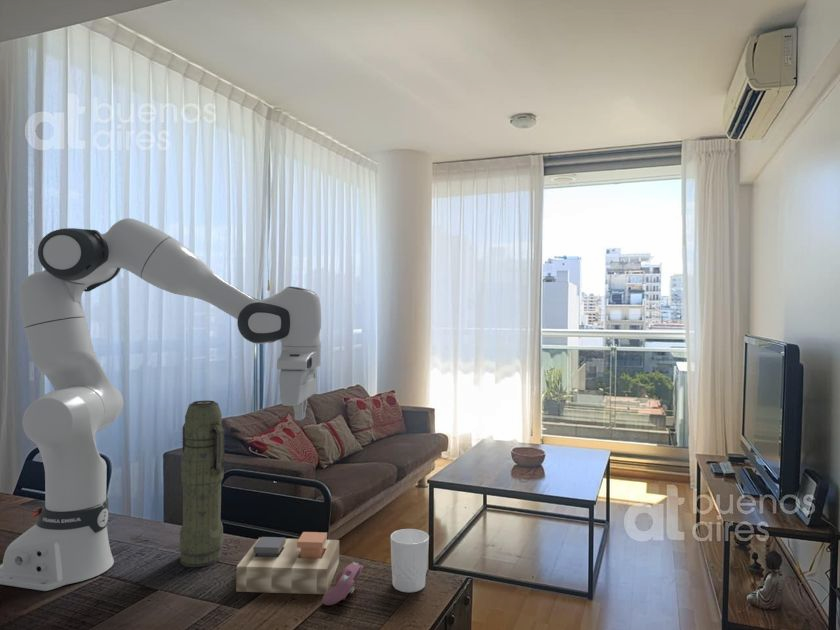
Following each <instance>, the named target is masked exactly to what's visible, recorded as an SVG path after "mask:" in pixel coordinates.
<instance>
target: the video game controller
mask: <svg viewBox="0 0 840 630" xmlns="http://www.w3.org/2000/svg"><path fill="white" fill-rule="evenodd" d="M363 568H364V565H361V564H360V563H358V562H355V561H352V562H351V563H350V564H348V565H346V566H345V567H344V568H343V569H342V571H340V572H339V573H338V575H337V576H336V579H335V580H336V584H335V585H334V586H333V587H332V588H331V589H329V590H328V592H326V593H325V594H323V596H322V599H321V600H322V603H323V604H324V605H325V606H333V605H335V604H338V603H339V602H340V601H345V600H346V598H347V596H348V594H349V593H350V594H353V593H354V590H355V583H356V581H357V579H359V577H360V576H361V574H362V571H363Z"/></svg>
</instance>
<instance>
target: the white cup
mask: <svg viewBox="0 0 840 630" xmlns="http://www.w3.org/2000/svg"><path fill="white" fill-rule="evenodd" d="M429 541H430V535H429V534H428V533H427V532H426V531H424V530H421V529H416V528H403V529H398V530H395V531H393V532H392V533H391V534H390V559H391V560H390V561H391V562H390V563H391V572H392V574H391V575H392V578H391V579H392V586H393V587H394V589H395V590H397V591H399V592H402V593H416V592H419V591H421V590H423V589H424V588H425V587H426V576H427V572H428V570H427V569H428V559H429V558H428V557H429V544H430V542H429Z"/></svg>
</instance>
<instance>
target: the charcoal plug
mask: <svg viewBox="0 0 840 630" xmlns="http://www.w3.org/2000/svg"><path fill="white" fill-rule="evenodd" d="M259 538H260V539H259V541H258V542H257V543H256V544H255V543H254V544H255V546H254V551H253V553H257V557H279V555H280V554H281V552H282V547H283V546H284V544H285V539H286V537H285V536H283V537H277V536H261V537H259Z"/></svg>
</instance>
